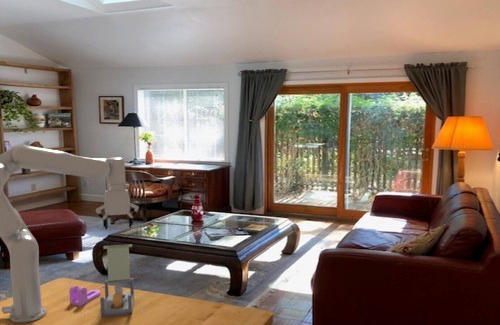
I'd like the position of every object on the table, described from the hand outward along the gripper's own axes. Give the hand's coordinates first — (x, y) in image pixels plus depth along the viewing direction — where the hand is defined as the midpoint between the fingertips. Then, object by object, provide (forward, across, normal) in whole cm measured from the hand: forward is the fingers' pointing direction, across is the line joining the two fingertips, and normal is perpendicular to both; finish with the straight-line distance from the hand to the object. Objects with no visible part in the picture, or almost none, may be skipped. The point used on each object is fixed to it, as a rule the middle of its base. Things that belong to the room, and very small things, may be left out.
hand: (118, 227), depth 185 cm
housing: (+28, 0, +14) cm, 32 cm away
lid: (+14, 0, +6) cm, 15 cm away
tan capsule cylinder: (+27, 0, +18) cm, 33 cm away
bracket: (+29, +14, +3) cm, 32 cm away
